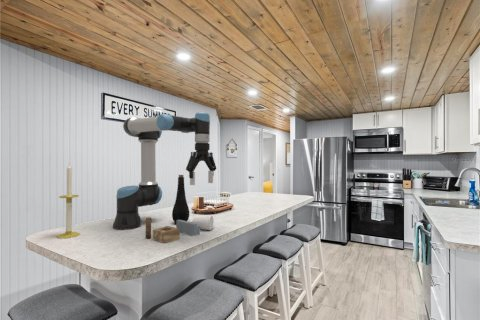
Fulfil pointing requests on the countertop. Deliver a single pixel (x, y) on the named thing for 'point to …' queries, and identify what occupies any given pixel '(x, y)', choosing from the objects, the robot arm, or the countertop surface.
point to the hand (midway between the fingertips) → (201, 183)
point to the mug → (204, 221)
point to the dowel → (148, 228)
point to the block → (166, 234)
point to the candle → (69, 207)
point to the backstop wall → (188, 227)
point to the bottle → (180, 203)
